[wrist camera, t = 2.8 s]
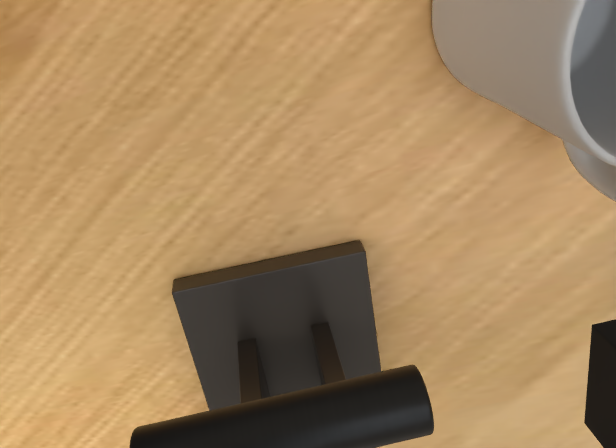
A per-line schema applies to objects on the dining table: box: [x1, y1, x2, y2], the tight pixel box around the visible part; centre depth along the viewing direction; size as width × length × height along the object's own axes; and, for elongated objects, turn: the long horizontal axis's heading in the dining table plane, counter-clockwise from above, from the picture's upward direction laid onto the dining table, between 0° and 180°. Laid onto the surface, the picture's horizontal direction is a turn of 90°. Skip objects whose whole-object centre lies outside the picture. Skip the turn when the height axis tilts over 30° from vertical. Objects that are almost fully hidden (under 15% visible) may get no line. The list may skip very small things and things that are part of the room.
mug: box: [432, 0, 616, 201], centre depth 22 cm, size 12×8×11 cm
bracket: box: [172, 240, 381, 410], centre depth 27 cm, size 12×10×14 cm
